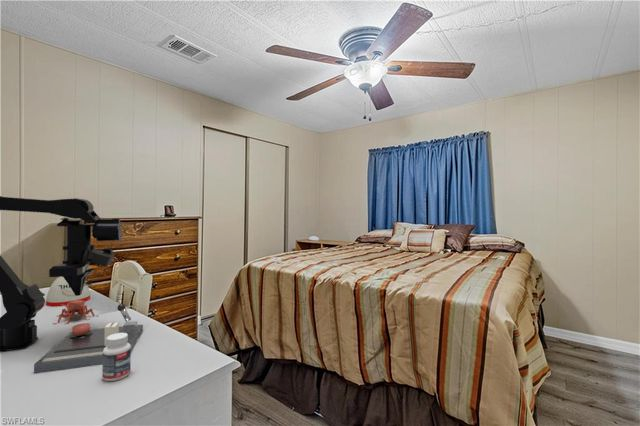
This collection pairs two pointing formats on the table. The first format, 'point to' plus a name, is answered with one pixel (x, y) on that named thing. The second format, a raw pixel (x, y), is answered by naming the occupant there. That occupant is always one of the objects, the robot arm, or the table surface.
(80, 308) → the robot toy
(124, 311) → the toggle
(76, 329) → the button
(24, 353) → the table surface
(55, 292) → the kitchen timer
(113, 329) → the fader
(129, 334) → the panel
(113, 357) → the pill bottle
